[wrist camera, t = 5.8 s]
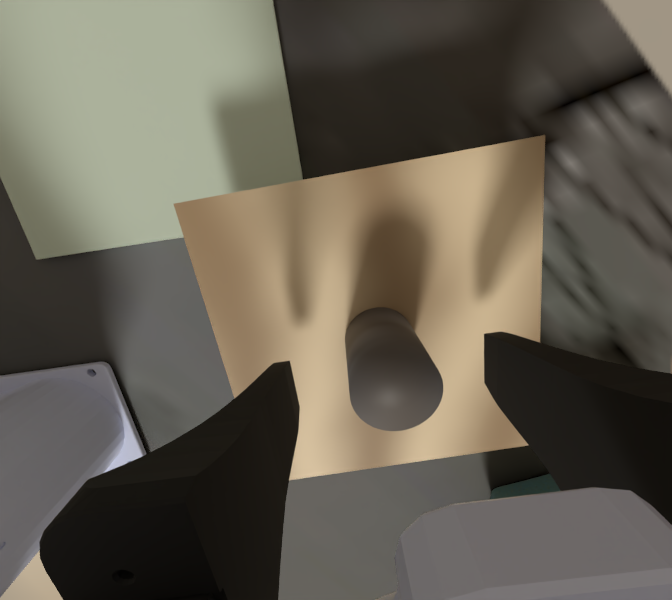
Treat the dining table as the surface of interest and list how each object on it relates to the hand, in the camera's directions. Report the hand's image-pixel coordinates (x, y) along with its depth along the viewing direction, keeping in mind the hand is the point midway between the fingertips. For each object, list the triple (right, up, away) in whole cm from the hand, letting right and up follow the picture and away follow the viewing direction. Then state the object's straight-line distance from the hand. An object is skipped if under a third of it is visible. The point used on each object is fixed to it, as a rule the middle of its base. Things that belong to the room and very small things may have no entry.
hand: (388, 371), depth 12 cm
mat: (-12, +13, +3) cm, 18 cm away
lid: (0, +1, +3) cm, 3 cm away
